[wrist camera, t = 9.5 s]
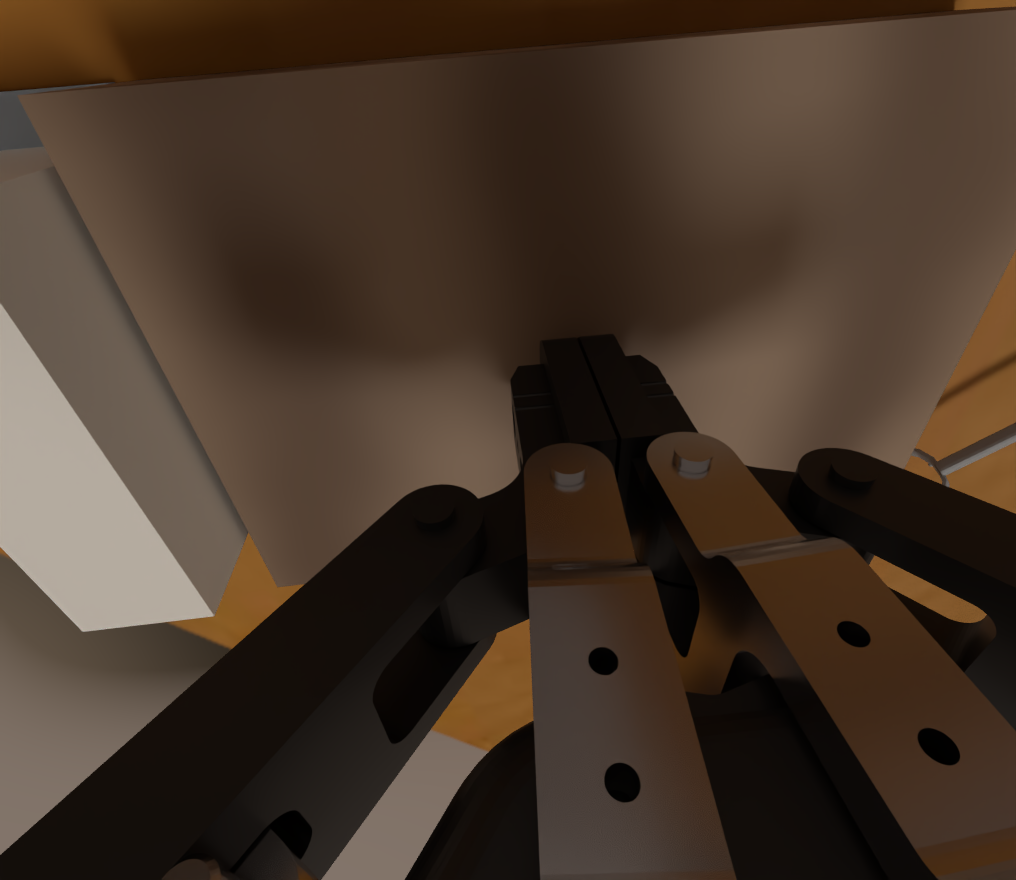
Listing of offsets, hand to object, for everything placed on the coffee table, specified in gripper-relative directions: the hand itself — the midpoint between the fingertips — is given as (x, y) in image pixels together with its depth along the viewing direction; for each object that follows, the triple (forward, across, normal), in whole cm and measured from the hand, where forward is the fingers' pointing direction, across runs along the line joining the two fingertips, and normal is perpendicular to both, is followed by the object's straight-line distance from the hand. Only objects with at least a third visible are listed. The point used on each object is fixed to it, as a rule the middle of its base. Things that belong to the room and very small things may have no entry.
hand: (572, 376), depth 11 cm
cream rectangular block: (+1, +10, 0) cm, 10 cm away
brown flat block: (+5, 0, 0) cm, 5 cm away
